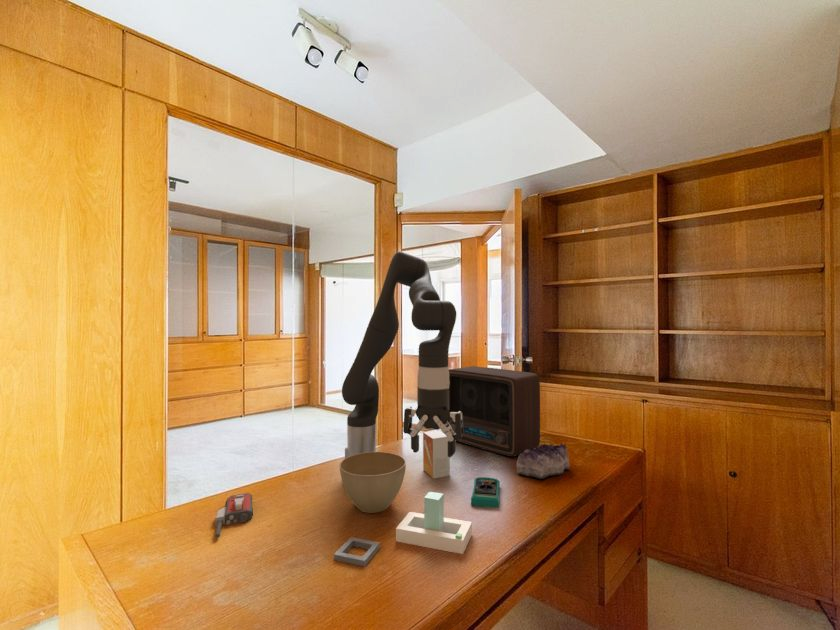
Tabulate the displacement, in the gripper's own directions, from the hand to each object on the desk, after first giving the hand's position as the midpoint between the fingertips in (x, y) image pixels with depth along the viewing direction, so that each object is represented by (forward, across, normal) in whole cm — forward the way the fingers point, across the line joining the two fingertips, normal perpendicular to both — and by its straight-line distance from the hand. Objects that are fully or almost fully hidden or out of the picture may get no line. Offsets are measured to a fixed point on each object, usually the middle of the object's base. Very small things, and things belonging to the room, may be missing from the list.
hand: (433, 453), depth 99 cm
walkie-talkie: (+21, -52, -8) cm, 56 cm away
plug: (+20, 0, 0) cm, 20 cm away
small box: (+20, -12, +39) cm, 46 cm away
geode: (+20, +22, +52) cm, 60 cm away
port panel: (+20, 0, 0) cm, 20 cm away
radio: (+20, -1, +74) cm, 77 cm away
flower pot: (+20, -21, +10) cm, 31 cm away
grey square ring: (+20, -14, -12) cm, 27 cm away
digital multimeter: (+21, +7, +28) cm, 35 cm away
